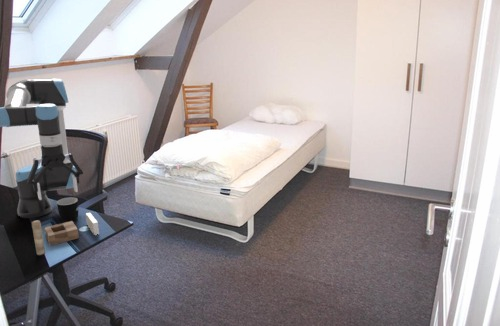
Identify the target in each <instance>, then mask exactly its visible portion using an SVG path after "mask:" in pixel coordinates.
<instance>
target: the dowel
mask: <svg viewBox="0 0 500 326" xmlns="http://www.w3.org/2000/svg"><path fill="white" fill-rule="evenodd" d="M31 228H32V233H33V238H34V239H33V240H34V244H35V245H34V246H35V252H36V255H37V256H43V255H45V253H46V250H45V243H44V237H43V231H42V230H43V229H42V224H41V220H33V221H31Z"/></svg>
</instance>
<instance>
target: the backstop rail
mask: <svg viewBox="0 0 500 326" xmlns="http://www.w3.org/2000/svg"><path fill="white" fill-rule="evenodd" d="M85 219H86V220H85V221H86V226H87V225H88V226H87V227H88V228H90V229H89V230H90V231H91V233H92V234H93V236H94V235H95V236H98V235H100V231H99V222H98V220H97V219H96V218H95V216H93V214H92V213H91V212H86V213H85ZM97 234H98V235H97Z"/></svg>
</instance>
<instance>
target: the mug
mask: <svg viewBox="0 0 500 326" xmlns="http://www.w3.org/2000/svg"><path fill="white" fill-rule="evenodd" d="M56 206H57V211H58V216H59V218H60V220H61V223H65V222H70V221H73V223H75V222H77V220H78V218H79V200H78V198H77V197H74V196H73V197H72V196H70V197H64V198H60V199H58V200H57V201H56Z"/></svg>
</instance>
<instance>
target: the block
mask: <svg viewBox="0 0 500 326" xmlns="http://www.w3.org/2000/svg"><path fill="white" fill-rule="evenodd" d="M44 233H45V238H46V239H47V242H48V245H49V246H54V245H55V246H56V245H58V244H61V243H66V242H69V241H73V240H74V241H75V240H77V239H79V238H80V237H79V230H78V228H77V226H76V224H75V222H73V221H70V222H65V223H63V222H61V223H57V224H54V225H49V226H46V227H44Z"/></svg>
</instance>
